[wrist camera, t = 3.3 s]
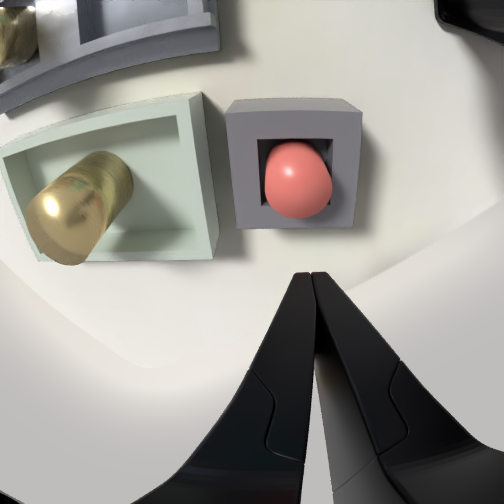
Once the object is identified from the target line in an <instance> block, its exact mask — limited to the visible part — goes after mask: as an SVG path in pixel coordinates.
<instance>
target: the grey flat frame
mask: <svg viewBox="0 0 504 504" xmlns="http://www.w3.org/2000/svg"><path fill="white" fill-rule="evenodd" d="M12 6H32V7H34V8H35V9H36V22H37V35H38V46H37V48H36V50H35V51H34V53H33V55H32V56H31V57H30V58H29V59H28V60H27V61H26V62H25V63H23V64H21V65H19V66H15V67H11V68H8V69H4V70H1V71H0V115H1V114H3V113H5V112H7V111H9V110H11V109H13V108H15V107H18V106H20V105H22V104H24V103H26V102H28V101H31V100H33V99H35V98H38V97H40V96H42V95H45V94H47V93H50V92H52V91H55V90H57V89H60V88H63V87H65V86H68V85H71V84H74V83H77V82H79V81H82V80H85V79H88V78H92V77H95V76H98V75H101V74H105V73H108V72H112V71H115V70H119V69H123V68H127V67H131V66H135V65H139V64H143V63H148V62H152V61H157V60H162V59H167V58H172V57H178V56H184V55H190V54H197V53H205V52H213V51H221V43H220V31H219V20H218V8H217V0H0V7H12Z"/></svg>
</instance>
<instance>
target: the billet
mask: <svg viewBox="0 0 504 504" xmlns="http://www.w3.org/2000/svg"><path fill="white" fill-rule="evenodd" d="M133 188H134V184H133V177H132V174H131V172H130V169H129V168H128V166H127V165H126V163H125V162H124V161H123V160H122V159H121V158H120V157H118V156H117V155H115V154H113V153H111V152H108V151H101V150H99V151H94V152H91V153H89V154H88V155H86V156H85V157H84V158H82V159H81V160H80V161H78V162H77V163H76V164H74V165H73V166H72V167H70V168H69V169H68V170H66V171H65V172H64V173H63V174H61V175H60V176H59V177H58V178H56V179H55V180H54V181H53V182H51V183H50V184H49V185H48V186H47V187H45V188H44V189H43V190H42V191H41V192H40V193H38V194H37V195H36V196H35V197H34V198H33V199H32V200H31V201H30V202H29V204H28V206H27V209H26V225H27V228H28V231H29V234H30V236H31V238H32V240H33V241H34V243H35V244H36V246H37V247H38V248H39V249H40V250H41V251H42V252H43V253H44V254H45V255H46V256H47V257H49V258H50V259H52V260H54V261H55V262H58V263H60V264H63V265H70V266H71V265H78V264H80V263H82V262H84V261H85V260H86V259H87V257H88V256H89V254H90V253H91V251H92V250H93V248H94V247H95V246H96V244H97V243H98V241H99V240H100V239H101V237H102V236H103V235H104V233H105V232H106V230H107V229H108V228H109V226H110V225H111V224H112V222H113V221H114V220H115V218H116V217H117V216H118V214H119V213H120V212H121V211H122V209H123V208H124V207H125V205H126V204H127V203H128V202H129V200H130V199H131V196H132V194H133Z"/></svg>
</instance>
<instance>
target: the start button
mask: <svg viewBox="0 0 504 504" xmlns="http://www.w3.org/2000/svg"><path fill="white" fill-rule="evenodd" d="M265 194H266V198H267V200H268V202H269V204H270V205H271V207H272V208H273V209H274V210H275V211H277V212H278V213H279V214H281V215H283V216H286V217H289V218H295V219H301V218H307V217H310V216H313V215H315V214H317V213H318V212H320V211H321V210H322V209H323V208H324V207H325V206H326V205H327V203H328V202H329V200H330V198H331V194H332V181H331V177H330V175H329V173H328V171H327V168H326V166H325V164H324V162H323V159H322V157H321V155H320V153H319V151H318V150H317V148H316V147H315V146H314V145H313V144H312V143H310V142H309V141H307V140H305V139H302V138H287V139H283V140H281V141H279V142H278V143H276V144H275V145H274V146H273V147H272V148H271V149H270V151H269V153H268V155H267V158H266V174H265Z"/></svg>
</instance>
